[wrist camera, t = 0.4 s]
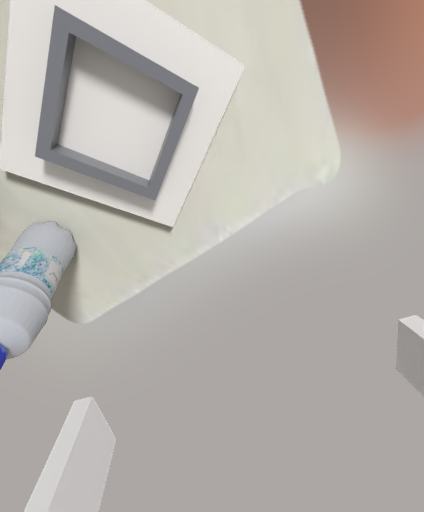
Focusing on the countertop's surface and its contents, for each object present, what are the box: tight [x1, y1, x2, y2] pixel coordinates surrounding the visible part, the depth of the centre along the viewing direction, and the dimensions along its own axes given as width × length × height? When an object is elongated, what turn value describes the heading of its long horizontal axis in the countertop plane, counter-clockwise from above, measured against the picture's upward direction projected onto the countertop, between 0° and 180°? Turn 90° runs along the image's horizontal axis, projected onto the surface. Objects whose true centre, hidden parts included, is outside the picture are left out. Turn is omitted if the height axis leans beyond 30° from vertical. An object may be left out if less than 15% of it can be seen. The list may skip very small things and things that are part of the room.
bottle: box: [0, 221, 76, 369], centre depth 27 cm, size 7×7×20 cm
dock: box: [0, 0, 245, 227], centre depth 27 cm, size 20×20×4 cm
